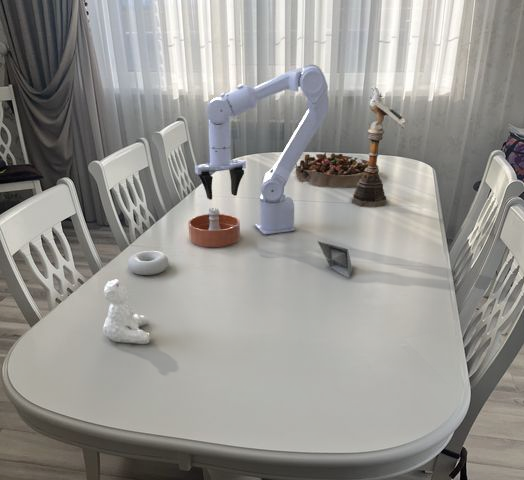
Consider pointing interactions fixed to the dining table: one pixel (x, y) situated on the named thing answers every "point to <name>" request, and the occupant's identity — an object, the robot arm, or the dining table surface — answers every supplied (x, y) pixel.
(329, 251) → the grey rectangular frame
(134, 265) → the donut
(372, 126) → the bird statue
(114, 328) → the sitting furry creature
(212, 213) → the rook chess piece
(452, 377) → the dining table surface
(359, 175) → the food dish
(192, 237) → the bowl
